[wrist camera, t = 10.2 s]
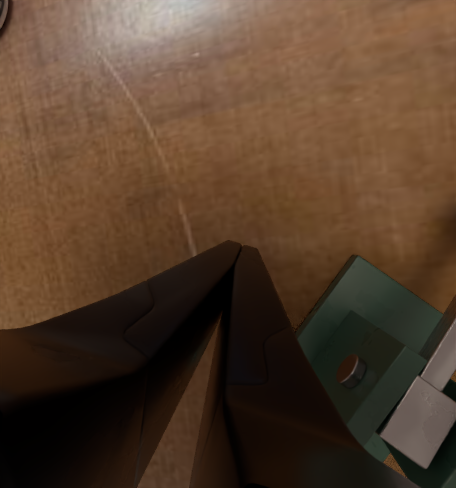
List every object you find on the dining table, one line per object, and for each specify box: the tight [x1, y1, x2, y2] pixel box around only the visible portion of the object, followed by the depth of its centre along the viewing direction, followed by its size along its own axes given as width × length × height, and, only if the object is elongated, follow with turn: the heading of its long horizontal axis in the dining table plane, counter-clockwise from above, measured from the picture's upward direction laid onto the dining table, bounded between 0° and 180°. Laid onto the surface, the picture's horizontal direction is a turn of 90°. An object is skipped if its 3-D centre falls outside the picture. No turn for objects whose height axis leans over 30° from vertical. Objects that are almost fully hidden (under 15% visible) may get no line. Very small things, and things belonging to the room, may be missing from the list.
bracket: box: [295, 255, 456, 488], centre depth 17 cm, size 10×8×8 cm
